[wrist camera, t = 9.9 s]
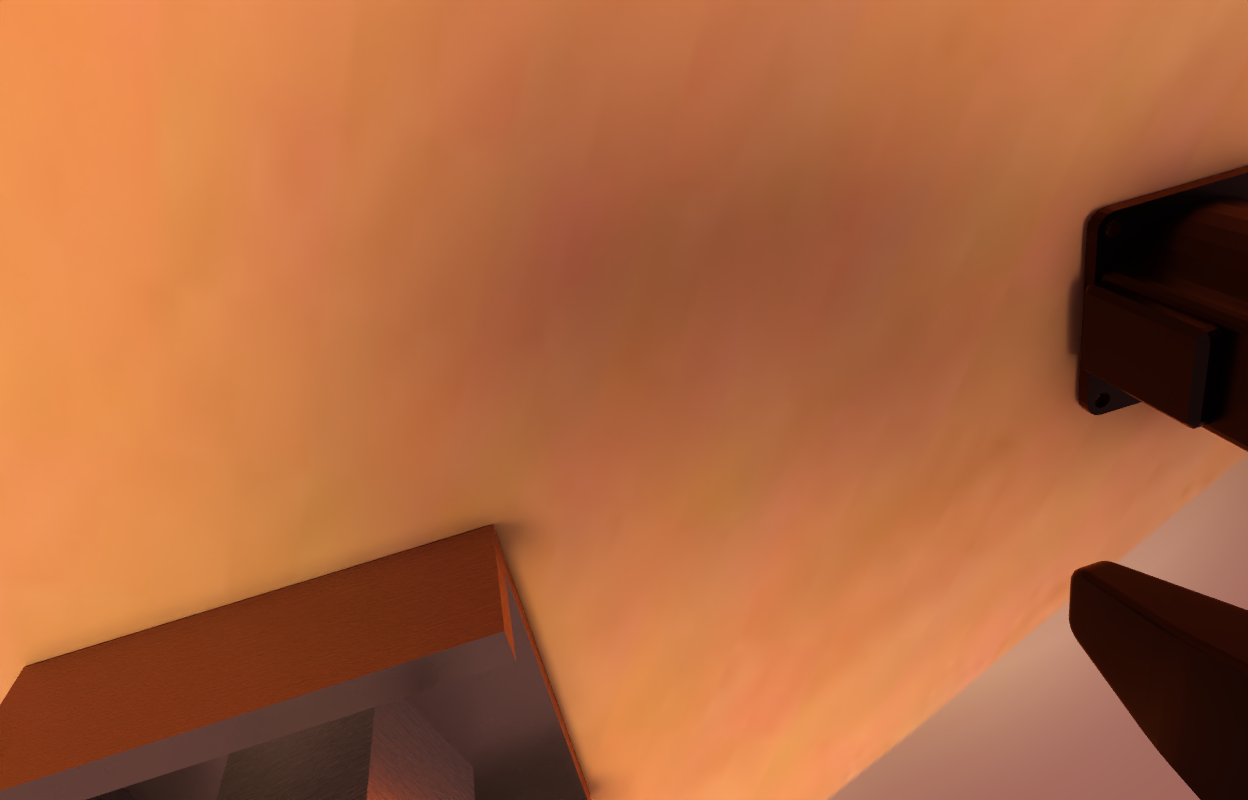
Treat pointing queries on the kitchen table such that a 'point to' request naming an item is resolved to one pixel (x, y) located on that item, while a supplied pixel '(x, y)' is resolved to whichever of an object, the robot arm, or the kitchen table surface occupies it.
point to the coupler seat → (299, 684)
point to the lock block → (353, 762)
